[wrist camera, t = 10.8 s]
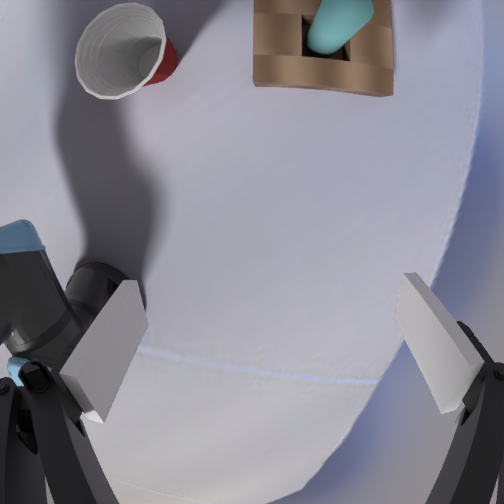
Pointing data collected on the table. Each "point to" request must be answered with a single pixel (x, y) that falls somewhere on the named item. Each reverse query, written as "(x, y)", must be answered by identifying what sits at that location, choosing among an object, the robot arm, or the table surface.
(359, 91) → the bore block
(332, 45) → the teal peg
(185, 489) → the table surface
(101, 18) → the plastic cup
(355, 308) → the table surface
